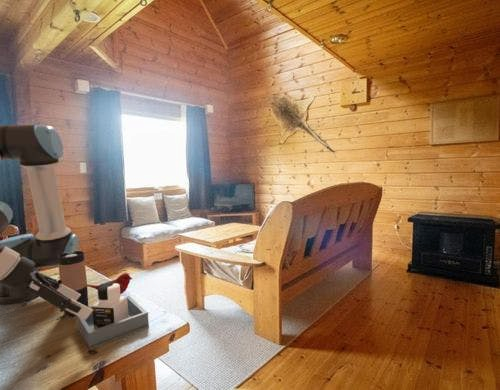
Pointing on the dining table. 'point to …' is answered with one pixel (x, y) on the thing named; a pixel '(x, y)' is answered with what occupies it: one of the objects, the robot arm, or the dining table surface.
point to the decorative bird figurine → (118, 282)
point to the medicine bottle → (109, 306)
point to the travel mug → (74, 276)
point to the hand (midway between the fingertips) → (83, 306)
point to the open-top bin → (113, 326)
